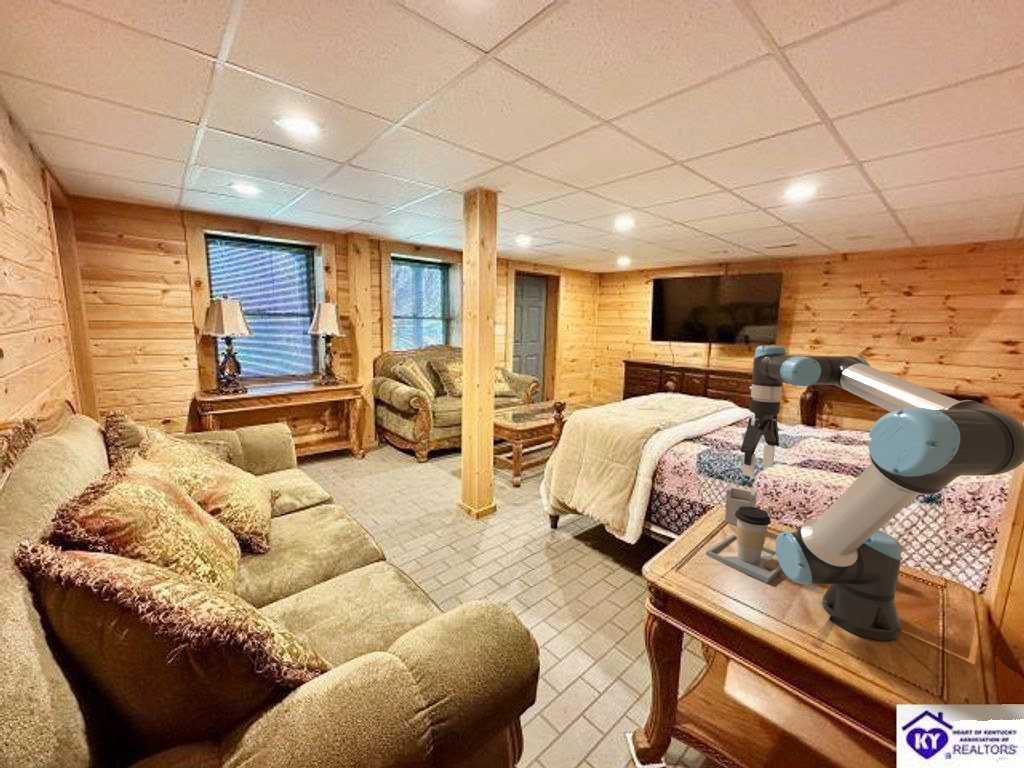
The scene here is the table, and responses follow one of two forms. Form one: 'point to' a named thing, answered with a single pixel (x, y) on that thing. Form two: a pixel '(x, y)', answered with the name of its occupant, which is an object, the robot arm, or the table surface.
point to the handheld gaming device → (738, 502)
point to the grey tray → (747, 568)
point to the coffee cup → (751, 533)
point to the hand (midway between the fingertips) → (758, 470)
